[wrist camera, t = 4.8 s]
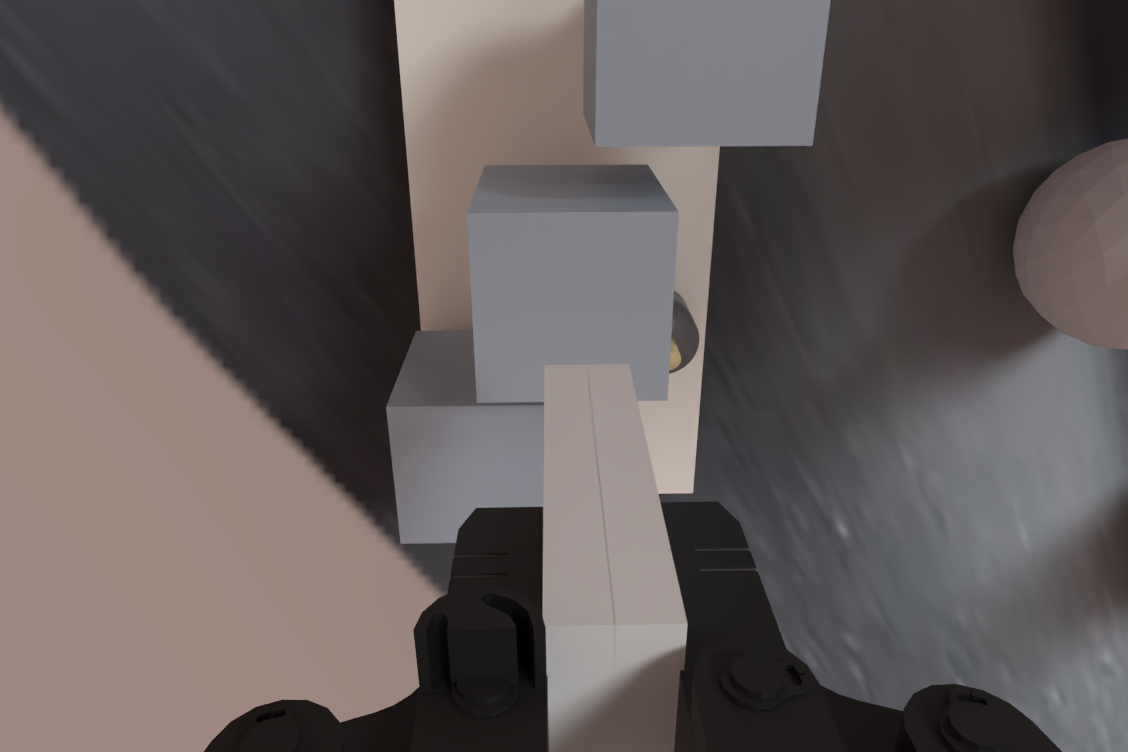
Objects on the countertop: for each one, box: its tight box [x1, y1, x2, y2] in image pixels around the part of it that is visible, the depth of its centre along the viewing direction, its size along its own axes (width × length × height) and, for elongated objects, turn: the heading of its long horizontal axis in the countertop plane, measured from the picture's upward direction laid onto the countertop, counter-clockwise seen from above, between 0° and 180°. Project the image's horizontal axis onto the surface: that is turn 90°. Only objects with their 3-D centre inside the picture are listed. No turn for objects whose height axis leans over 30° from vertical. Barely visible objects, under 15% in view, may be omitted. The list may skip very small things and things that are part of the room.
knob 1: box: [386, 330, 544, 544], centre depth 28 cm, size 5×5×6 cm
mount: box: [394, 0, 720, 494], centre depth 28 cm, size 11×24×7 cm, turn 0°
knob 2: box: [467, 164, 679, 403], centre depth 23 cm, size 5×5×6 cm
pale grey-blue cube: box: [583, 0, 831, 147], centre depth 20 cm, size 5×5×6 cm
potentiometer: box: [669, 291, 699, 374], centre depth 29 cm, size 3×3×4 cm
